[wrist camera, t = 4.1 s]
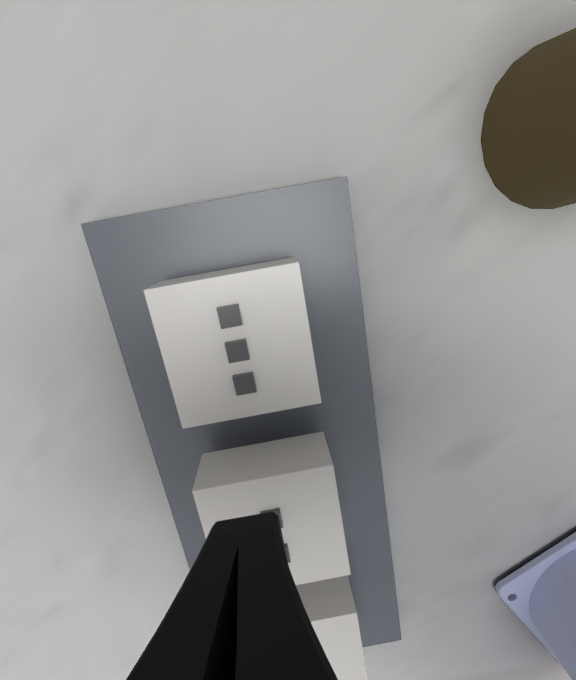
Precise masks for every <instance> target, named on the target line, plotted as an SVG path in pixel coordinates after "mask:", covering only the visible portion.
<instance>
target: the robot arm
mask: <svg viewBox="0 0 576 680" xmlns="http://www.w3.org/2000/svg"><path fill="white" fill-rule="evenodd" d="M495 590H496V592H497V593H498V595H499V596H500V597H501V599H502V600H503V601H504V602H505V603H506V604H507V605H508V606H509V608H510V609H511V610H512V611H513V612H514V613H515V614H516V615H517V616H518V618H519V619H520V620H521V621H522V622H523V623H524V624H525V625H526V627H527V628H528V629H529V630H530V631H531V632H532V633H533V634H534V635H535V637H536V638H537V639H538V640H539V641H540V642H541V643H542V644H543V646H544V647H545V648H546V649H547V650H548V651H549V652H550V653H551V654H552V656H553V657H554V658H555V659H556V660H557V661H558V662H559V663H560V664H561V665H562V667H563V668H564V669H565V670H566V671H567V673H568V674H569V676H570V677H571V679H572V680H576V532H575V533H573V534H572V535H570V536H569V537H567V538H565V539H564V540H562V541H561V542H559V543H558V544H556V545H555V546H553V547H552V548H550V549H548V550H547V551H545V552H544V553H542V554H541V555H539V556H538V557H536V558H534V559H533V560H531V561H530V562H528V563H527V564H525V565H524V566H522V567H521V568H519V569H517V570H516V571H514V572H513V573H511V574H510V575H508V576H507V577H505V578H504V579H502V580H500V581H499V582H498V583H497V584H496V586H495ZM126 680H338V679H337V677H336V675H335V673H334V671H333V669H332V667H331V664H330V662H329V660H328V658H327V656H326V654H325V652H324V650H323V648H322V646H321V644H320V641H319V639H318V637H317V635H316V633H315V631H314V628H313V626H312V624H311V622H310V619H309V617H308V615H307V612H306V610H305V608H304V605H303V603H302V600H301V598H300V595H299V593H298V590H297V587H296V585H295V582H294V580H293V577H292V574H291V571H290V569H289V565H288V560H287V555H286V550H285V545H284V541H283V536H282V531H281V526H280V521H279V516H278V515H277V514H275V513H274V512H267V513H262V514H256V515H250V516H245V517H239V518H233V519H228V520H222V521H217V522H216V523H215V524H214V525H213V526H212V528H211V530H210V532H209V534H208V536H207V538H206V540H205V542H204V544H203V546H202V548H201V550H200V552H199V554H198V556H197V558H196V560H195V562H194V564H193V566H192V568H191V570H190V572H189V574H188V575H187V577H186V579H185V581H184V583H183V585H182V587H181V588H180V590H179V592H178V594H177V595H176V597H175V599H174V601H173V603H172V604H171V606H170V608H169V610H168V611H167V613H166V615H165V617H164V619H163V620H162V622H161V624H160V626H159V627H158V629H157V631H156V632H155V634H154V636H153V637H152V639H151V640H150V642H149V644H148V645H147V647H146V649H145V650H144V652H143V653H142V655H141V657H140V658H139V660H138V662H137V663H136V665H135V666H134V668H133V670H132V671H131V673H130V674H129V676H128V678H127V679H126Z"/></svg>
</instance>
